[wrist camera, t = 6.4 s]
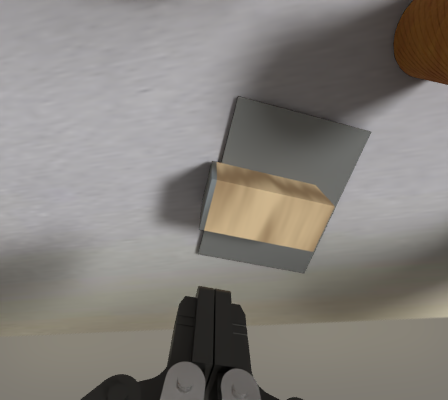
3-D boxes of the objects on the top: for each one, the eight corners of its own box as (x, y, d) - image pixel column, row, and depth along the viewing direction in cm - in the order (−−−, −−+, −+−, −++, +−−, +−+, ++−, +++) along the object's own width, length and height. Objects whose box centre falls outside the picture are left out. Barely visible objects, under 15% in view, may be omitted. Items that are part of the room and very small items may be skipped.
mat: (368, 131, 24) (371, 131, 23) (303, 271, 30) (304, 273, 30) (238, 96, 22) (238, 96, 22) (198, 251, 28) (198, 254, 28)
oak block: (212, 160, 24) (315, 184, 25) (201, 204, 26) (298, 225, 27) (211, 178, 20) (334, 206, 21) (199, 229, 22) (313, 251, 23)
